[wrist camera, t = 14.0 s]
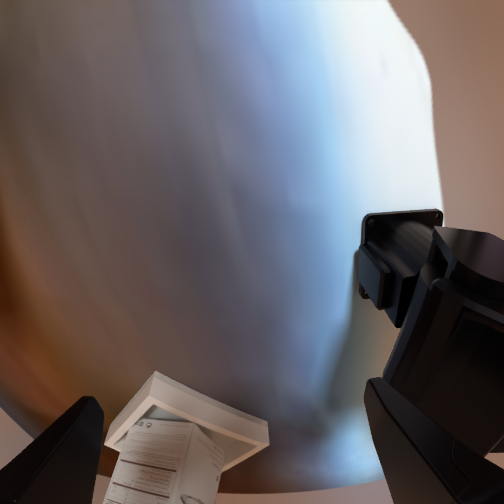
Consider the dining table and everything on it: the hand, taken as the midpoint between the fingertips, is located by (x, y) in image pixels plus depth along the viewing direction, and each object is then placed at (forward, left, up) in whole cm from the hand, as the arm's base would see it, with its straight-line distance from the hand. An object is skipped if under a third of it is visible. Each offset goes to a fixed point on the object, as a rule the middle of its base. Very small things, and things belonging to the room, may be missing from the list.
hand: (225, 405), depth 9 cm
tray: (+8, +20, -13) cm, 25 cm away
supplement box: (+8, +19, -11) cm, 23 cm away
